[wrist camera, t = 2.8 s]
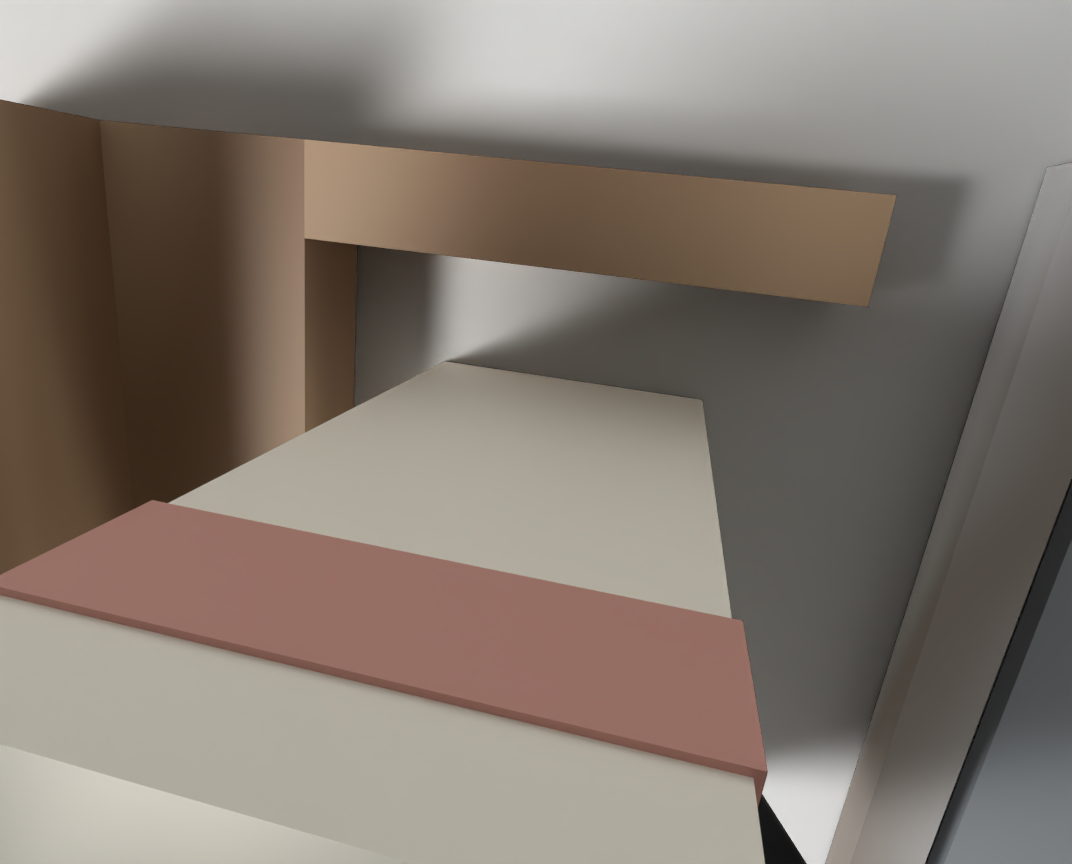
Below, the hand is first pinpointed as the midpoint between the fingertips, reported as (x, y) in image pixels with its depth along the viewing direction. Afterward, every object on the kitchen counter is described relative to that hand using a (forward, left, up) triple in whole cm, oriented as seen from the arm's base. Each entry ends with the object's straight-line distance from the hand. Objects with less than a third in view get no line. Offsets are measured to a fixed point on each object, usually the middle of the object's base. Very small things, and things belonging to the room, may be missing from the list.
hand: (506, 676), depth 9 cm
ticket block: (0, 0, -3) cm, 3 cm away
